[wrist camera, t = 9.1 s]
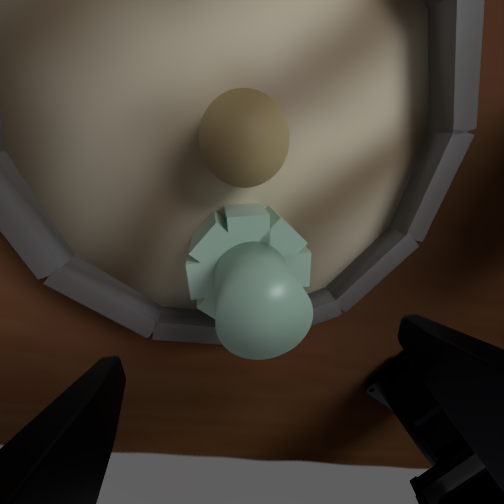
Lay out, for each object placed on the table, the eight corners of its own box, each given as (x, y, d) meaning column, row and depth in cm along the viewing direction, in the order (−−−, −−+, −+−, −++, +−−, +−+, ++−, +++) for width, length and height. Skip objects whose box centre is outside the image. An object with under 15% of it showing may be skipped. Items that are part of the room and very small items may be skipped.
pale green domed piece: (315, 248, 15) (374, 307, 10) (248, 316, 16) (266, 402, 11) (240, 179, 13) (263, 205, 8) (168, 262, 14) (143, 337, 9)
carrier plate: (519, 129, 15) (599, 126, 12) (250, 378, 20) (258, 423, 17) (195, -577, 7) (182, -1245, 3) (-151, 157, 11) (-294, 163, 8)
